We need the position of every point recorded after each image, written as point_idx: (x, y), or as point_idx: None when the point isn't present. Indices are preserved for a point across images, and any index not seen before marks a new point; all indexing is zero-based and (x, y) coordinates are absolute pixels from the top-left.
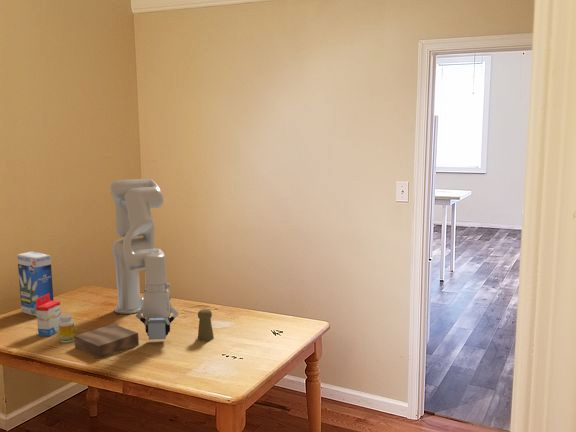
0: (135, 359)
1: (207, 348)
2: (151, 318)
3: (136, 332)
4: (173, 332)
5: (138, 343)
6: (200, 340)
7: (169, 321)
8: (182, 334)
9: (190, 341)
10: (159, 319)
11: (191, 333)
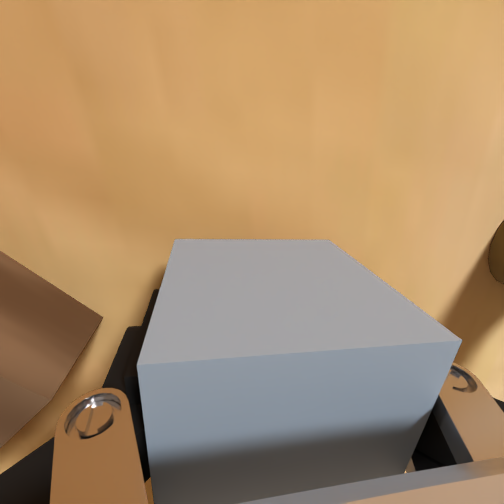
0: (149, 485)
1: (488, 372)
2: (165, 380)
3: (23, 390)
4: (361, 59)
5: (96, 326)
6: (496, 278)
7: (454, 458)
8: (423, 135)
9: (441, 282)
10: (330, 413)
11: (489, 124)
